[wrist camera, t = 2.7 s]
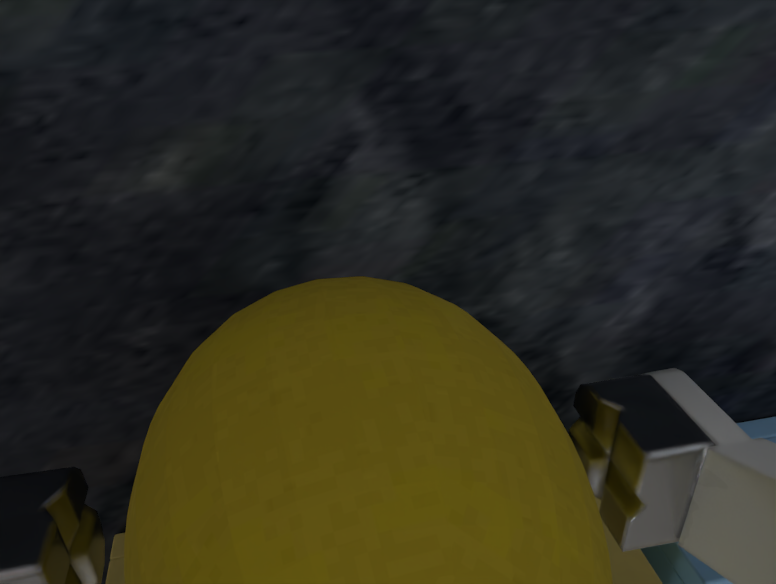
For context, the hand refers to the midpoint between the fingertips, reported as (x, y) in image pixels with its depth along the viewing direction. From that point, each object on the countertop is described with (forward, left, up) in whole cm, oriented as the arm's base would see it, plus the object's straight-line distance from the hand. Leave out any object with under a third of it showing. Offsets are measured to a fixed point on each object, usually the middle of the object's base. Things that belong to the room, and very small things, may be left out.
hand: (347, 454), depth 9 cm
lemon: (0, 0, -3) cm, 3 cm away
